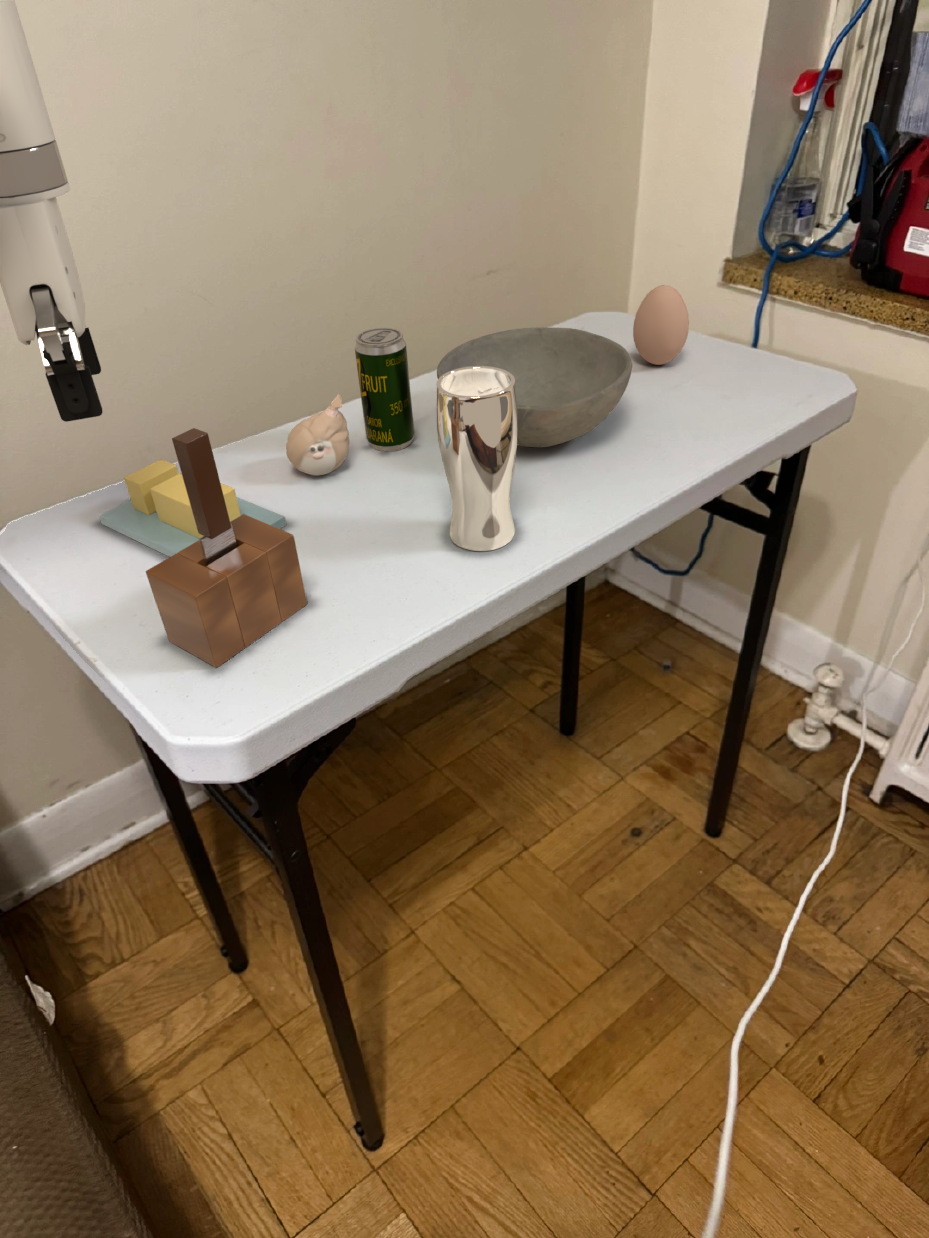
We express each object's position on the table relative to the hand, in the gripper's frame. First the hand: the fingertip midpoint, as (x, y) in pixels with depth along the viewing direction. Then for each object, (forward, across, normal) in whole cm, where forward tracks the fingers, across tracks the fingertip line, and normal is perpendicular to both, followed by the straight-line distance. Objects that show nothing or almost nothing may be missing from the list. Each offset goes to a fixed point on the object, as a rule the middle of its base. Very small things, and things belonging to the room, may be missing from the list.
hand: (83, 395), depth 74 cm
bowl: (+15, -6, +44) cm, 47 cm away
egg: (+14, -17, +66) cm, 70 cm away
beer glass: (+15, +12, +31) cm, 37 cm away
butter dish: (+15, -1, +6) cm, 16 cm away
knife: (+15, +17, +8) cm, 24 cm away
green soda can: (+15, -10, +29) cm, 34 cm away
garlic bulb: (+15, -7, +20) cm, 26 cm away
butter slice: (+14, -5, +3) cm, 15 cm away
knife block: (+15, +17, +8) cm, 24 cm away
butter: (+14, 0, +7) cm, 15 cm away
